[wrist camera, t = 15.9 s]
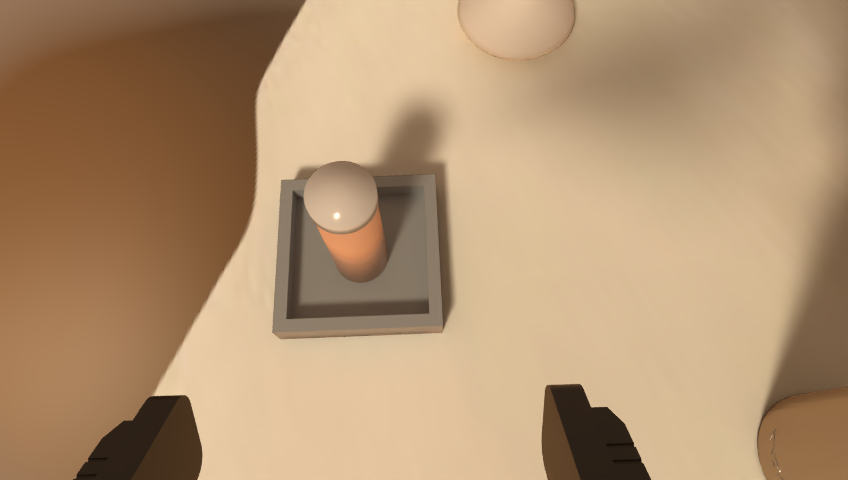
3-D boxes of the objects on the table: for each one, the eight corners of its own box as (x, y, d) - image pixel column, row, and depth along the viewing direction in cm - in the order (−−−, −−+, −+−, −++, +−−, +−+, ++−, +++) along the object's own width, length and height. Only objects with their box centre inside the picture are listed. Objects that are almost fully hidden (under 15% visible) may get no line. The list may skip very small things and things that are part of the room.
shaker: (388, 230, 48) (376, 159, 36) (389, 282, 46) (377, 225, 35) (334, 232, 48) (304, 162, 36) (333, 285, 46) (302, 228, 34)
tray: (434, 187, 50) (435, 174, 48) (442, 332, 45) (443, 325, 43) (288, 193, 50) (281, 180, 47) (280, 339, 45) (272, 332, 43)
